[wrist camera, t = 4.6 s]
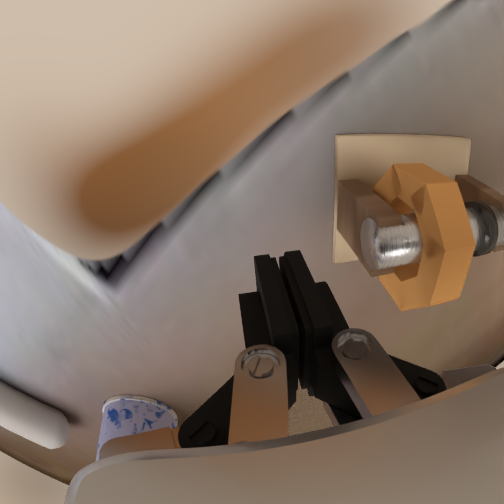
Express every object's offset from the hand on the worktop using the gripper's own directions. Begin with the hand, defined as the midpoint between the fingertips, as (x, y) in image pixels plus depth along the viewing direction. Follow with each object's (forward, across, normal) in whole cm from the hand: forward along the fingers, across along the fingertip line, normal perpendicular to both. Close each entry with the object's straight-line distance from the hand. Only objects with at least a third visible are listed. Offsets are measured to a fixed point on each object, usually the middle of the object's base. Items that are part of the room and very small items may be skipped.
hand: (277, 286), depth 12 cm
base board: (+7, -10, 0) cm, 12 cm away
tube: (+7, +32, +14) cm, 36 cm away
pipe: (+3, -10, 0) cm, 10 cm away
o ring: (+5, -7, 0) cm, 9 cm away
